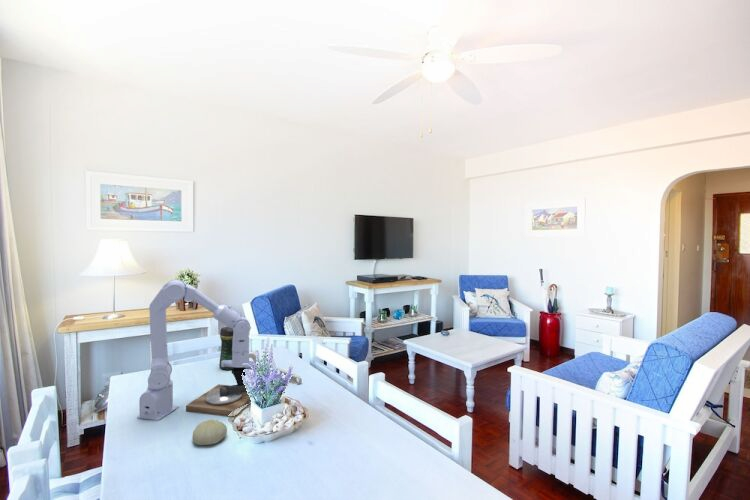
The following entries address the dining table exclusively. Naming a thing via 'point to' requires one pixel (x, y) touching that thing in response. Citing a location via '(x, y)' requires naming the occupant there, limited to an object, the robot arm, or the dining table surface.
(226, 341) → the coffee jar
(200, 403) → the dial base
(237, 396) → the dial
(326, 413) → the dining table surface
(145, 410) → the robot arm
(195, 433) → the sea urchin shell
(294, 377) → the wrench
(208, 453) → the dining table surface
